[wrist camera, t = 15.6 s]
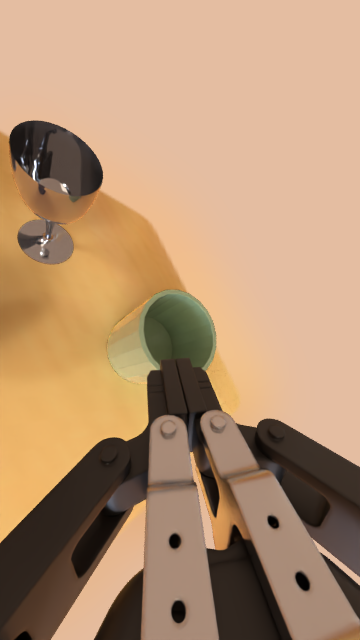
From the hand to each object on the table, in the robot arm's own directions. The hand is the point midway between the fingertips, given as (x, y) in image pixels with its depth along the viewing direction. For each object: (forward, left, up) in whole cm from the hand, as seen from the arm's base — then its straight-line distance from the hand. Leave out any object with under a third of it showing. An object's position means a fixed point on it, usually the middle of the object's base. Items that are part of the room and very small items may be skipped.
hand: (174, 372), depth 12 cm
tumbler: (+8, +7, -24) cm, 26 cm away
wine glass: (-9, +20, -24) cm, 32 cm away
